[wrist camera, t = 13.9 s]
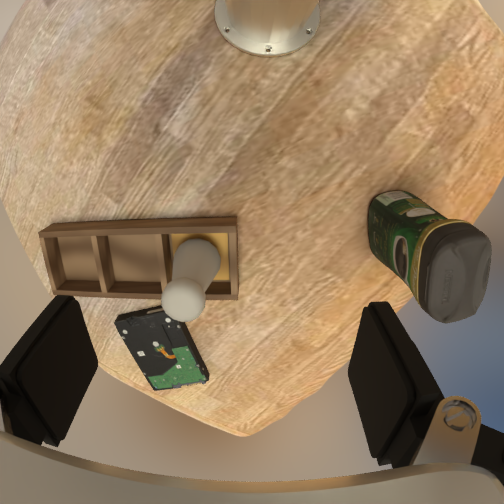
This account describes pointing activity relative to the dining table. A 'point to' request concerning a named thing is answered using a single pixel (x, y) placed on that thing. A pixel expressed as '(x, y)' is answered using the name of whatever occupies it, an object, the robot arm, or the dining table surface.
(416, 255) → the coffee jar
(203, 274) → the salt shaker
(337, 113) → the dining table surface
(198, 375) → the disk drive
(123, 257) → the wooden compartment tray
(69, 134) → the dining table surface
